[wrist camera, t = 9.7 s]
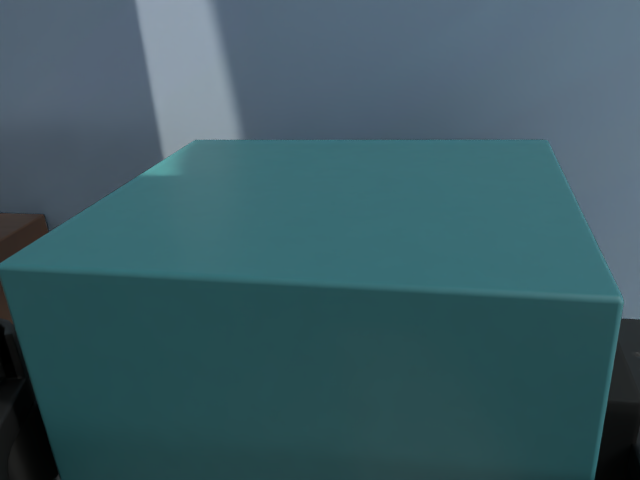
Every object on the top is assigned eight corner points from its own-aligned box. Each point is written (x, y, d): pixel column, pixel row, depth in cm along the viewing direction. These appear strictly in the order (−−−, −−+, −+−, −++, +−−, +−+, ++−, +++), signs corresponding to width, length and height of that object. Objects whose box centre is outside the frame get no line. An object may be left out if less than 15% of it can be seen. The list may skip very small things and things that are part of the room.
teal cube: (194, 138, 13) (-9, 265, 7) (549, 138, 11) (626, 298, 6) (232, 408, 15) (107, 643, 10) (519, 438, 14) (553, 734, 8)
